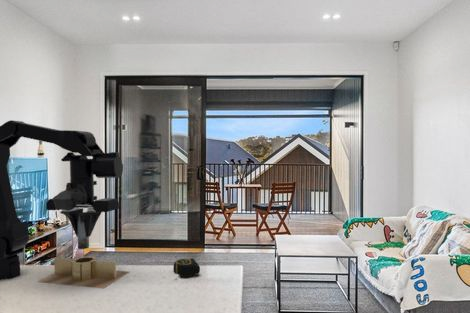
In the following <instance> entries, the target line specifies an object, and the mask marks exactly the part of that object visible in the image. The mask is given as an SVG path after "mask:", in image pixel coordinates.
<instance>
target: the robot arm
mask: <svg viewBox="0 0 470 313" xmlns="http://www.w3.org/2000/svg"><path fill="white" fill-rule="evenodd" d="M21 138H25V139H31V140H35V141H40V142H45V143H49V144H52V145H53V144H54V145H56V146H58V147H59V148H61V149H64V150H66V151H68V152H67V153H66V154H65V155H64V156H63V157H62V158H61V162H69V178H70V179H69V182H67V183H66V185H65V190H63V191H60V192H59V193H58V194H56V195H55V196H54V197H52V198H48V200H47V201H46V203H45V205H46V207H45V208H46V209H45V210H46V211H60V214H62V215H64V216H66V217H67V218H68V220H69V222H70V224H71V226H72V229H73V232H74V234H75V236H76V237H78V235H77V214H81V213H82V214H83V215H84V217H85V219H86V236H87V237H89V238H90V237H91V236H92V233H93V231H94V229H95V226H96V224H97V222H98V219H99V218H100V217H101V215H102V213H107V212H111V211H112V212H113V211H115V210H118V209H120V202H119V200H118V199H117V198H111V197H105V198H100V199H98V195H95V191H94V190H95V186H97V185H98V184H97V180H95V179H94V176H95V177H96V178H97V179H106V178H107V179H113V178H114V179H116V178H117V179H118V178H119V179H120V178H121V177H122V175H123V171H124V164H123V162H122V158H121V157H120V152H119V151H117V152H116V151H114V152H113V151H111V152H104V151H103V150H102V149H101V147H100V146H99V145H98V143H97V140H96V137H95V135H94V134H93V133H92V132H90V131H86V130H85V131H82V130H60V129H55V128H51V127H45V126H41V125H35V124H31V123H26V122H24V121H22V120H21V121H19V120H7V121H5V122H4V123H3V124H2V125H0V281H1V280H10V279H12V280H13V279H15V278H17V277H20V276H21V261H20V255H19V254H21V253H23V252H24V249H25V247H26V246H27V244H28V243H29V241H30V237H29V236H31V235H32V234H31V232H30V230H29V223H28V220H25V221H22V220H21V219H20V218H19V216H18V213H17V209H16V204H15V200H14V196H13V195H14V194H13V191H12V186H11V180H10V177H9V171H8V168H7V167H8V162H9V161H10V157H11V148H12V147H13V146H15V145H16V144H17V143H18V142H19V140H20V139H21ZM77 153H78V154H77ZM88 157H92V158H88ZM85 208H86V209H87V210H86V211H84V209H85Z"/></svg>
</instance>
